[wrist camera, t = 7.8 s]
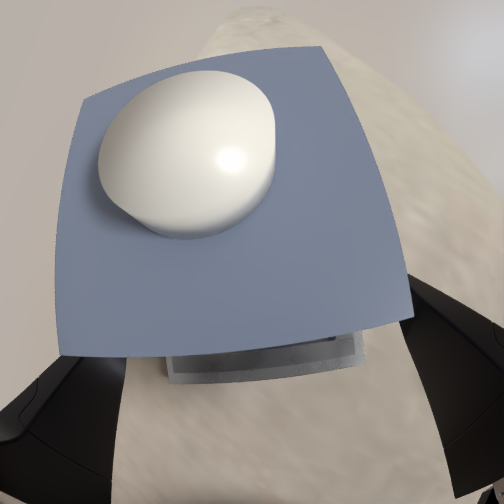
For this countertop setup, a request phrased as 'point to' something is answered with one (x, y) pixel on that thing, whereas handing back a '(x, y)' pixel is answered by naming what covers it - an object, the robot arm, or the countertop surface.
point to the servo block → (223, 213)
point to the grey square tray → (269, 361)
